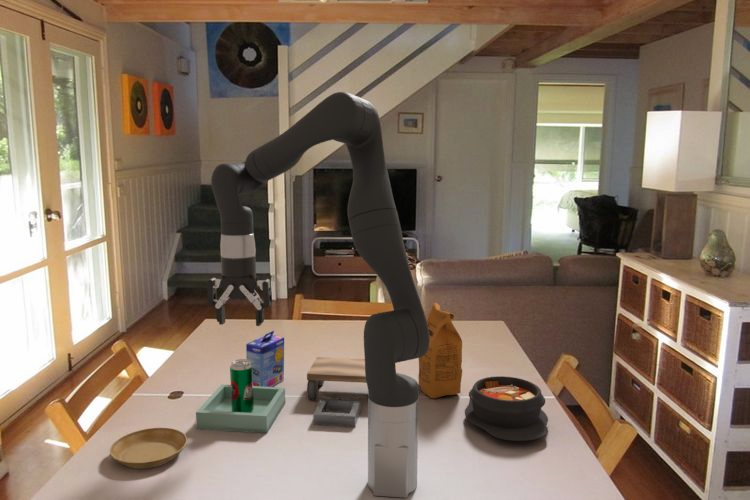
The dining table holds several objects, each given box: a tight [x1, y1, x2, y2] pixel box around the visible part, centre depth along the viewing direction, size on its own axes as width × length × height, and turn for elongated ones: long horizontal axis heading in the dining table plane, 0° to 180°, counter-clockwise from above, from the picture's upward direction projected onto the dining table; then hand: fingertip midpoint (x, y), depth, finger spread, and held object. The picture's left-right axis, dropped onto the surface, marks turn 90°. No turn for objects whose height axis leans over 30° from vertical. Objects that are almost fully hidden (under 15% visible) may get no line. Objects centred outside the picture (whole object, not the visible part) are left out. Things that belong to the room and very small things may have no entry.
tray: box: [195, 384, 286, 434], centre depth 145 cm, size 16×16×4 cm
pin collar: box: [313, 397, 362, 428], centre depth 145 cm, size 9×9×2 cm
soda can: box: [229, 358, 254, 413], centre depth 144 cm, size 5×5×12 cm
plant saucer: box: [109, 427, 188, 470], centre depth 127 cm, size 15×15×3 cm
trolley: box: [306, 356, 367, 401], centre depth 158 cm, size 14×18×7 cm
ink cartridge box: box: [245, 330, 285, 387], centre depth 163 cm, size 10×6×14 cm, turn 152°
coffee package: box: [418, 302, 463, 399], centre depth 159 cm, size 10×12×22 cm
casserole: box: [464, 375, 549, 442], centre depth 142 cm, size 25×19×8 cm
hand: (240, 324), depth 141 cm, fingers open, 8 cm apart
